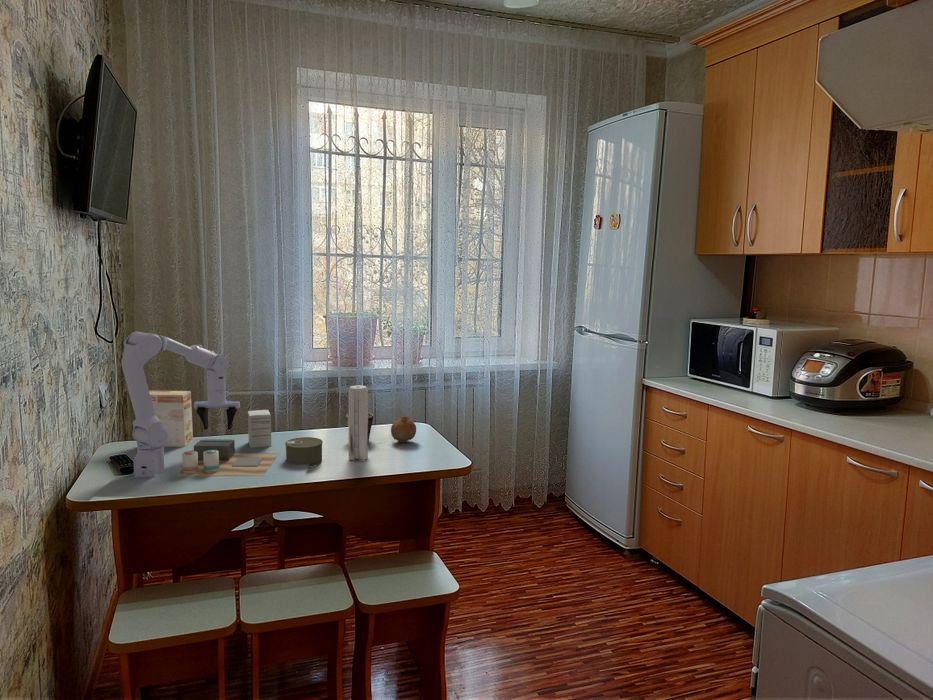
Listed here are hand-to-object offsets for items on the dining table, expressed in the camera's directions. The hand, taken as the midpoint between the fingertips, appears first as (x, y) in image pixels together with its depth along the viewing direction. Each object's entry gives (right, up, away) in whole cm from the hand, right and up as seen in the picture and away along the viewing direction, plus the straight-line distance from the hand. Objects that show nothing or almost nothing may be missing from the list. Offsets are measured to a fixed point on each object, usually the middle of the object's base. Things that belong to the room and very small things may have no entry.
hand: (218, 428), depth 216 cm
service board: (+8, -11, -9) cm, 17 cm away
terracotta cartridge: (-2, -11, -18) cm, 21 cm away
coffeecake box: (-22, -8, +12) cm, 26 cm away
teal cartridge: (+4, -11, -16) cm, 20 cm away
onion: (+60, -8, +22) cm, 65 cm away
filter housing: (0, -9, -3) cm, 10 cm away
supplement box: (+10, -8, +13) cm, 18 cm away
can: (+30, -11, -2) cm, 32 cm away
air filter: (+47, -11, +2) cm, 48 cm away
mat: (+13, -10, -8) cm, 18 cm away
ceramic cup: (+44, -8, +21) cm, 50 cm away
